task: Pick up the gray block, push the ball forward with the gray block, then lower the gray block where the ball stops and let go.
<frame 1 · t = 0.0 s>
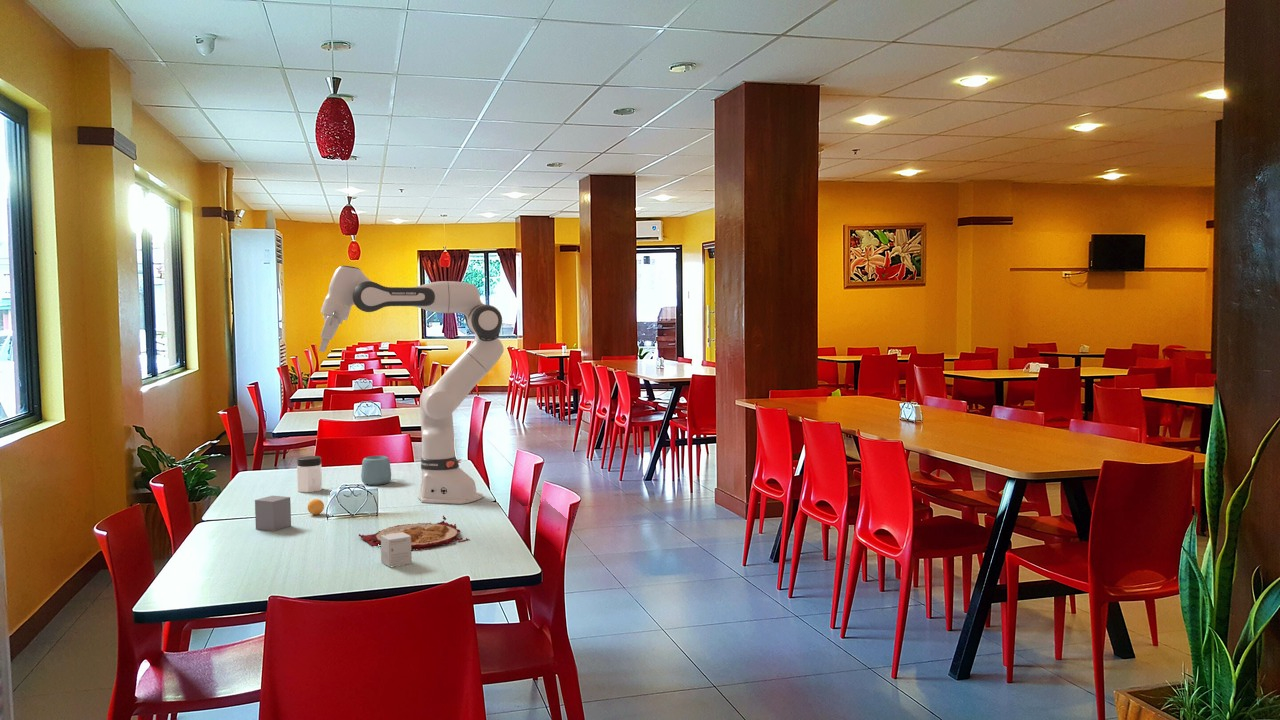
hand: (322, 351, 295), 52 cm above the table, tool tilted 20°, fingers open, 8 cm apart
gray block: (273, 527, 268), on the table
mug: (378, 482, 338), on the table
ball: (315, 506, 284), on the table
jar: (310, 490, 324), on the table
product box: (396, 564, 229), on the table
plate with food: (419, 542, 253), on the table
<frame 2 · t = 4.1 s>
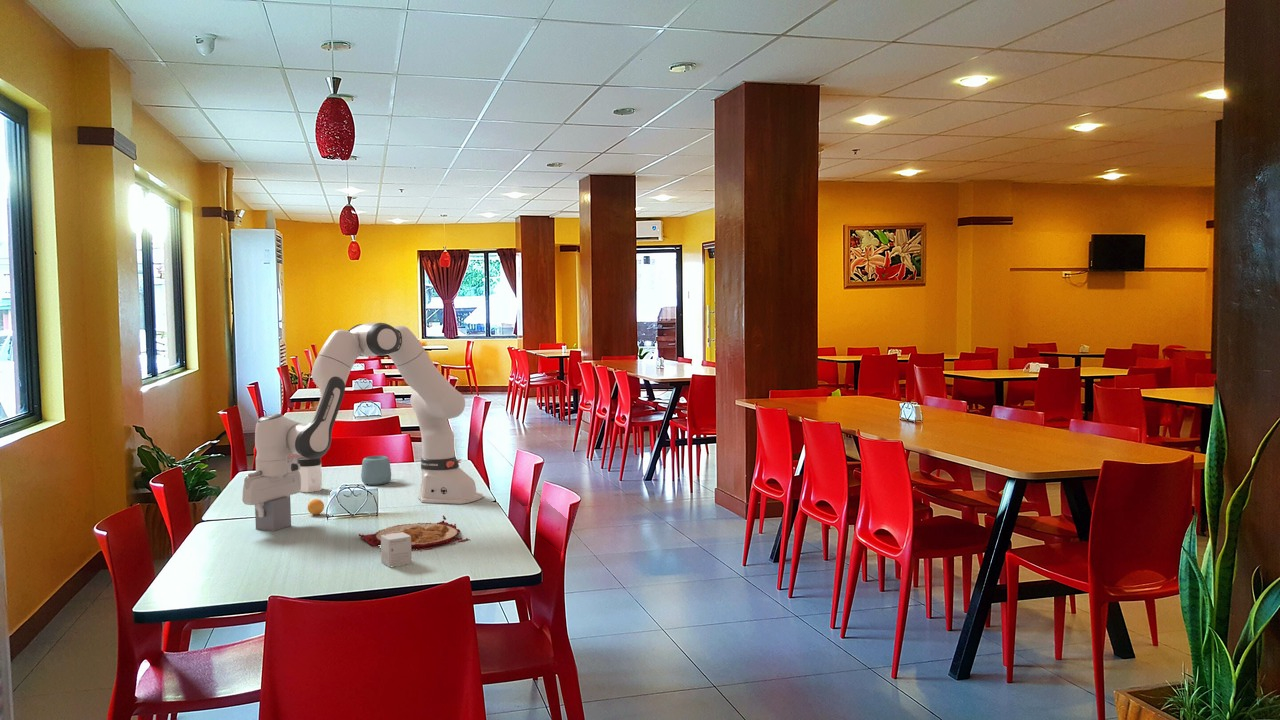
hand: (273, 513, 268), 4 cm above the table, tool pointing down, fingers closed on gray block, 7 cm apart
gray block: (273, 527, 268), on the table, touching gripper
everything else where it was.
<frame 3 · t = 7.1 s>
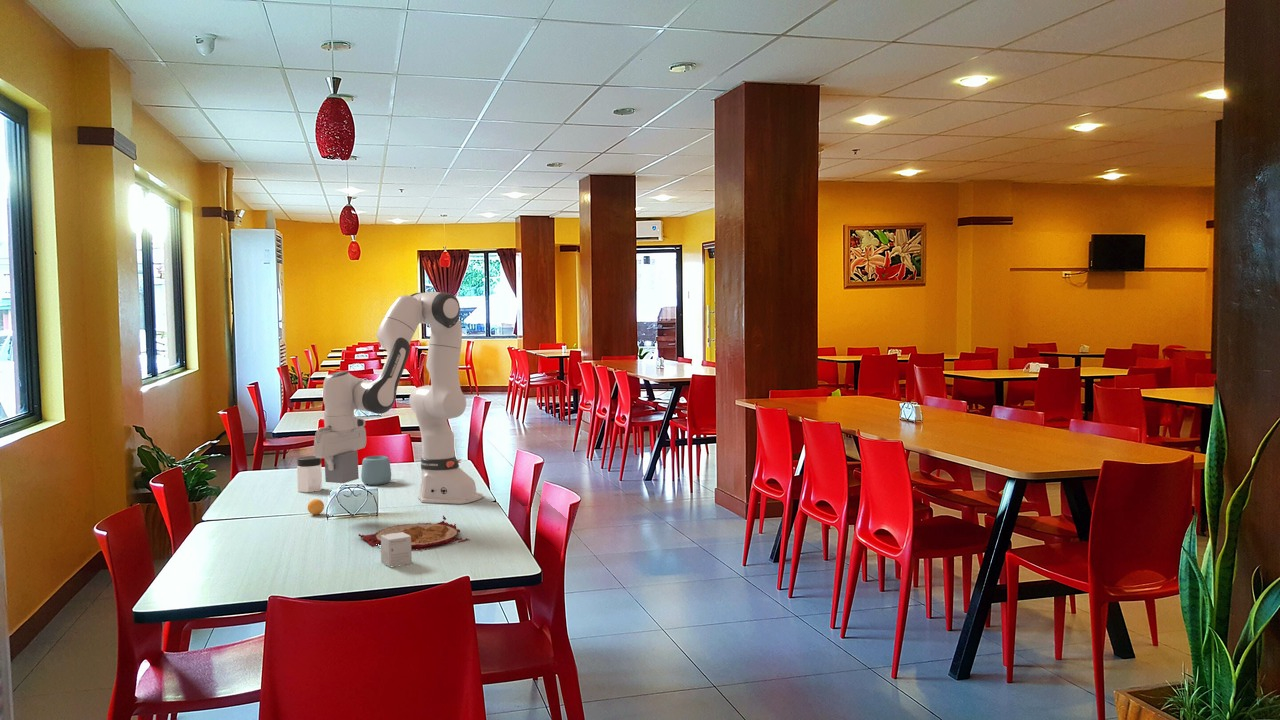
hand: (341, 467, 278), 16 cm above the table, tool pointing down, fingers closed on gray block, 7 cm apart
gray block: (342, 480, 278), point 12 cm above the table, touching gripper
everything else where it was.
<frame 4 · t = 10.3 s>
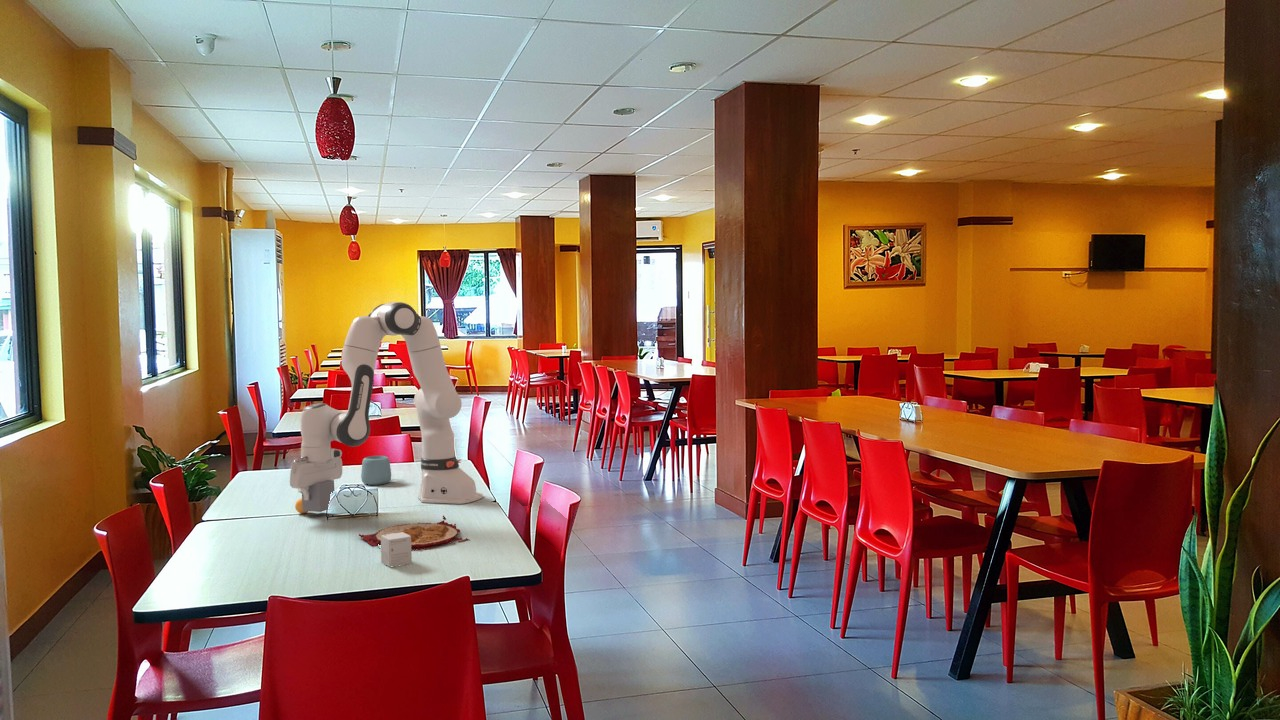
hand: (317, 497, 284), 6 cm above the table, tool pointing down, fingers closed on gray block, 7 cm apart
gray block: (319, 509, 284), point 2 cm above the table, touching gripper
ball: (303, 505, 286), on the table
everything else where it was.
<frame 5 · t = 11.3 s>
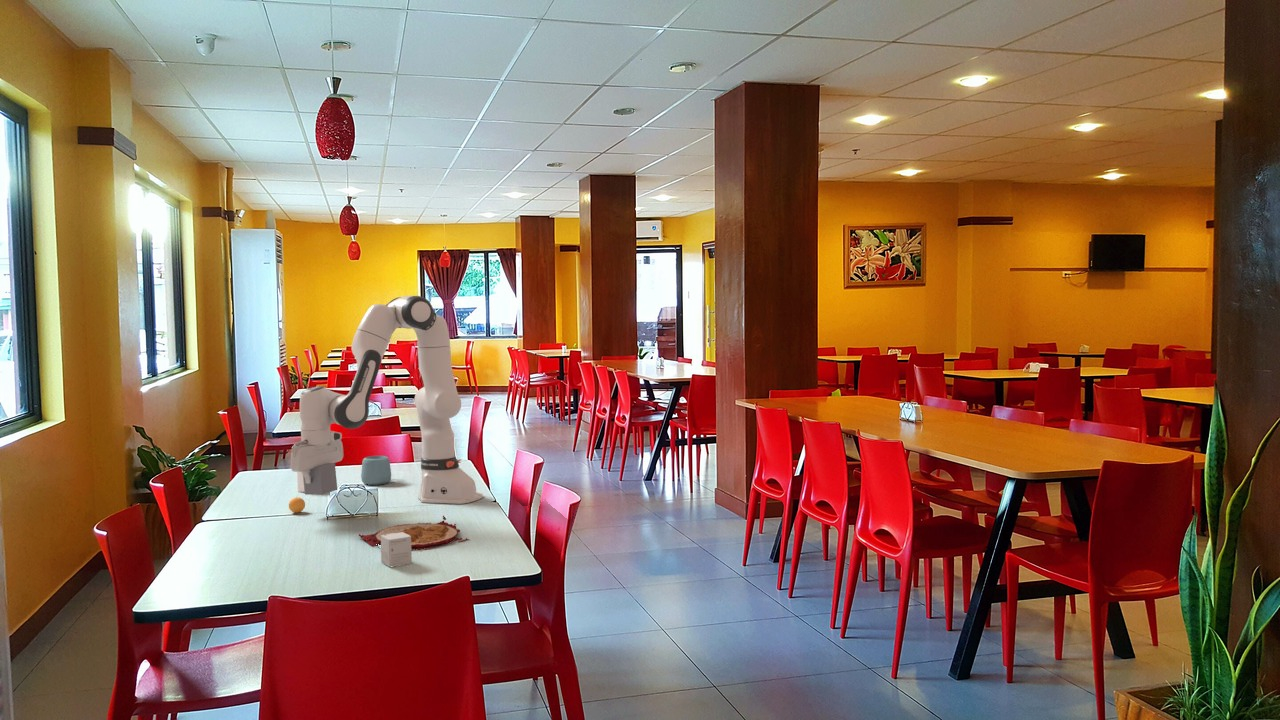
hand: (318, 480, 284), 11 cm above the table, tool pointing down, fingers closed on gray block, 7 cm apart
gray block: (321, 492, 284), point 7 cm above the table, touching gripper
ball: (296, 505, 287), on the table
everything else where it was.
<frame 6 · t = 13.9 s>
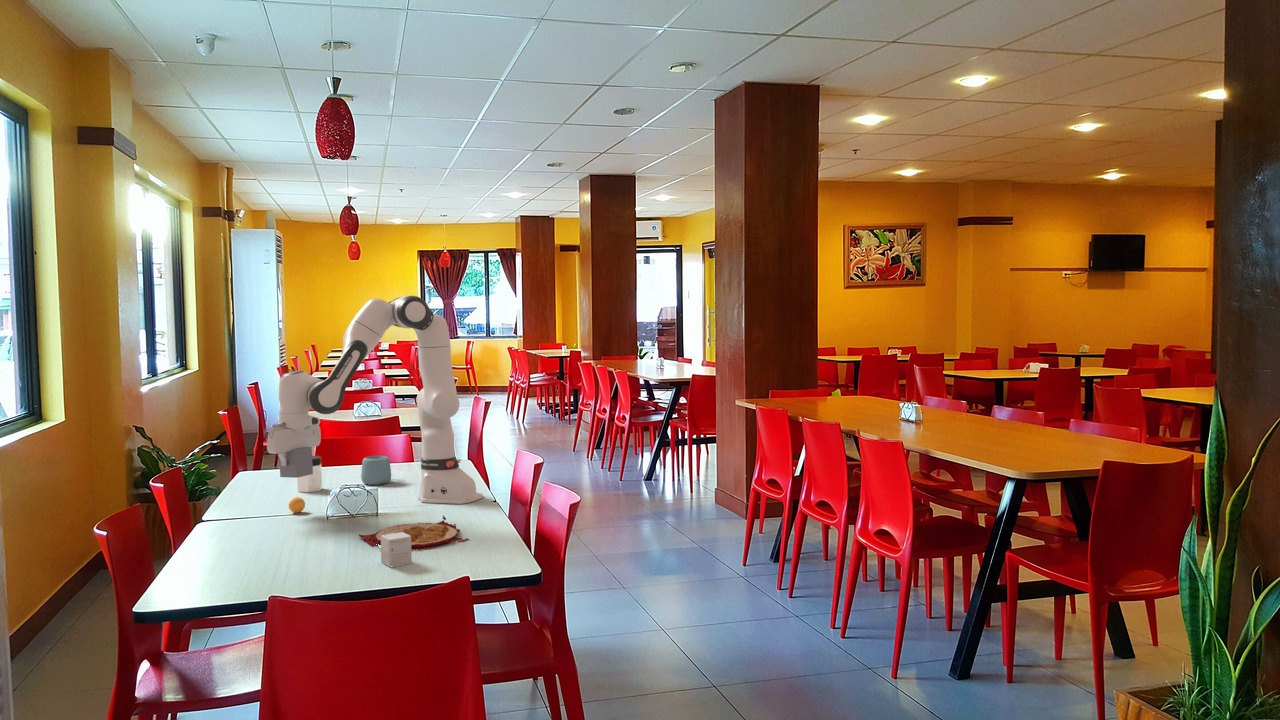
hand: (294, 463, 287), 16 cm above the table, tool pointing down, fingers closed on gray block, 7 cm apart
gray block: (296, 475, 286), point 12 cm above the table, touching gripper
everything else where it was.
when the fingers open (5 cm above the table, at t = 16.3 s): gray block stays where it is, on the table.
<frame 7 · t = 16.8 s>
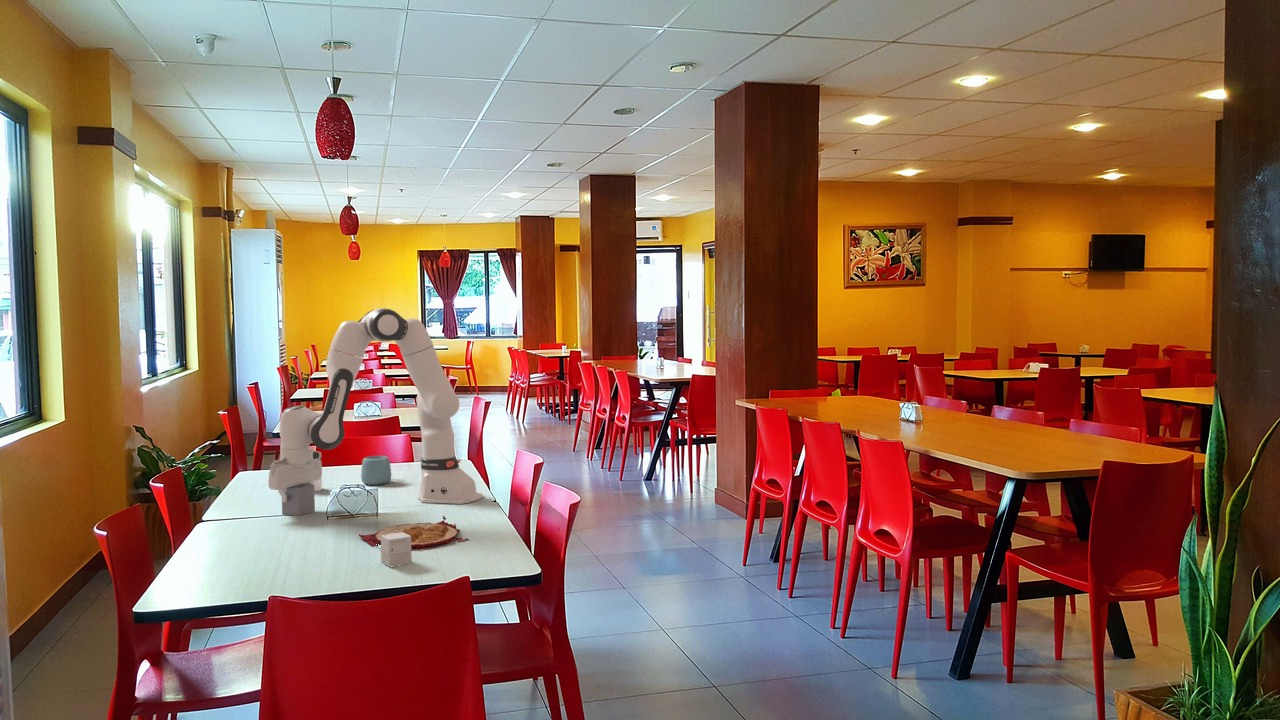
hand: (296, 498, 287), 5 cm above the table, tool pointing down, fingers open, 8 cm apart
gray block: (298, 512, 287), on the table
everything else where it was.
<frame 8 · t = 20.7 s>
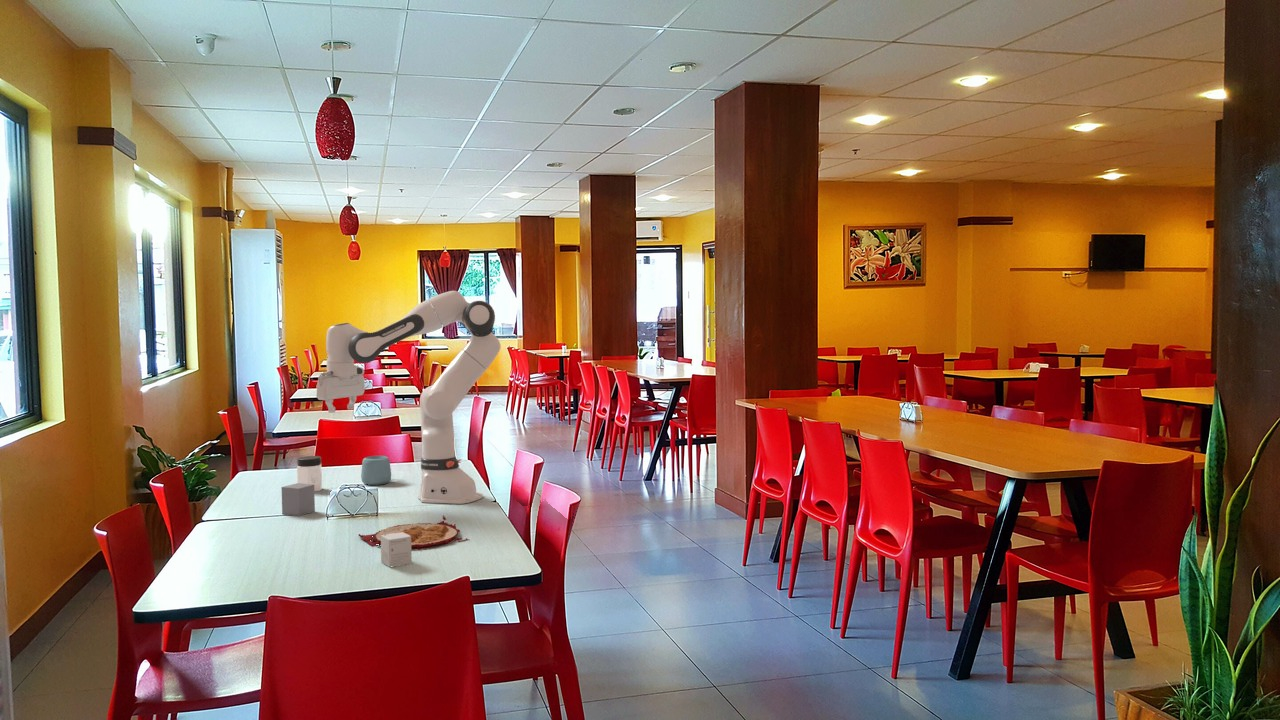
hand: (341, 410, 304), 31 cm above the table, tool pointing down, fingers open, 8 cm apart
nothing on the table moved.
at the end: ball 0.6 cm from the gray block (horizontally); gray block on the table; ball moved 7.8 cm from its start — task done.
